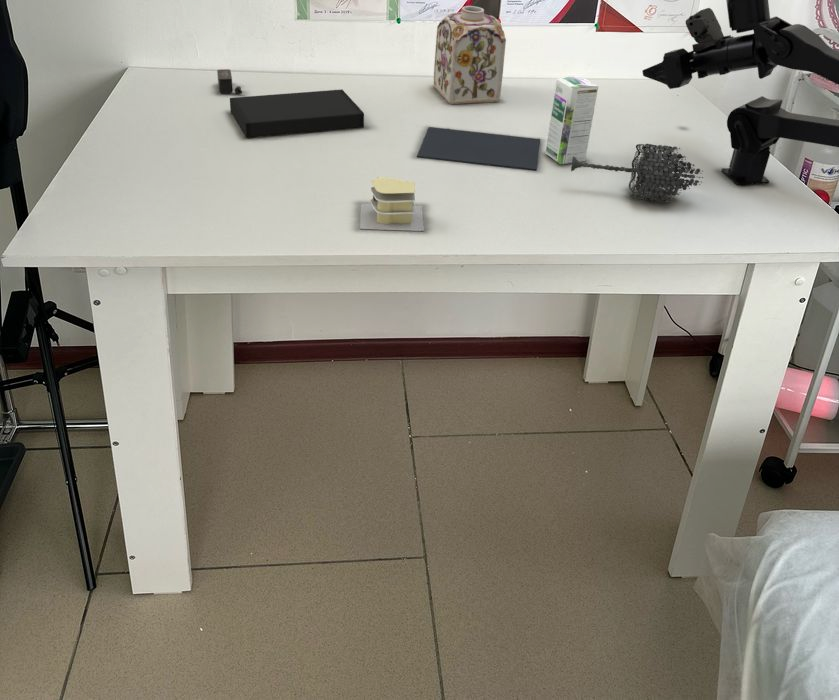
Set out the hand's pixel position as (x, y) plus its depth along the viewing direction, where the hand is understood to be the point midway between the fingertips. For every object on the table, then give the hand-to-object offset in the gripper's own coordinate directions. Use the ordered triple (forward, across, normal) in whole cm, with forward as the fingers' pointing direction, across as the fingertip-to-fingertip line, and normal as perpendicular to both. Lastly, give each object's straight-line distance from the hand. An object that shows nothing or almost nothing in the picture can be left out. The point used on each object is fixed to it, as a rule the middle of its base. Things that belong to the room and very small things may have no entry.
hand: (655, 68), depth 170 cm
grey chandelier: (-5, +23, +18) cm, 30 cm away
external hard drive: (+53, +44, -6) cm, 70 cm away
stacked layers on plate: (+15, +61, +10) cm, 63 cm away
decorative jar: (+43, +6, -2) cm, 43 cm away
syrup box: (+11, +18, +12) cm, 24 cm away
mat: (+23, +27, +6) cm, 36 cm away
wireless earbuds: (+73, +44, -15) cm, 87 cm away
